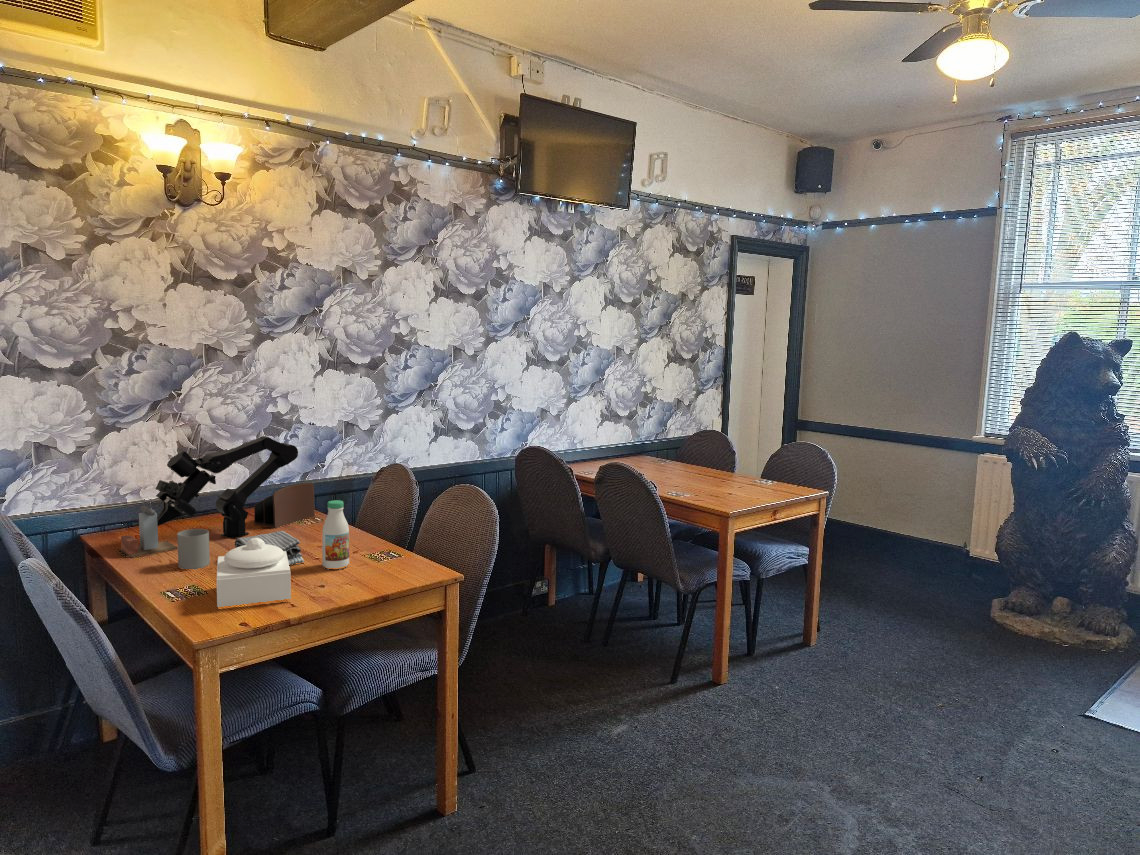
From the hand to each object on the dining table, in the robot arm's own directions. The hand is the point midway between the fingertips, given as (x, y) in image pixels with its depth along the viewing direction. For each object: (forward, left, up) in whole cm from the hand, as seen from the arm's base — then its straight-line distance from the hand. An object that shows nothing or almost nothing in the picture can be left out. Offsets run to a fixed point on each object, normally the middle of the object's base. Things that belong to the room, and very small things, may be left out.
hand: (156, 525), depth 242 cm
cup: (-22, +8, -8) cm, 25 cm away
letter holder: (-13, -45, -8) cm, 48 cm away
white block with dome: (-55, +21, -8) cm, 59 cm away
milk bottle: (-60, -8, -8) cm, 61 cm away
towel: (-39, -4, -8) cm, 40 cm away
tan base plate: (+1, +2, -8) cm, 8 cm away
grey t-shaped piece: (+1, +2, -8) cm, 8 cm away
